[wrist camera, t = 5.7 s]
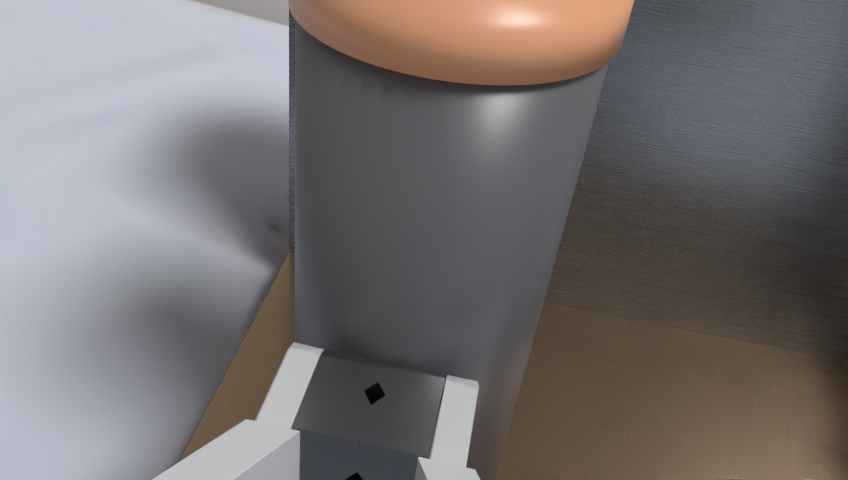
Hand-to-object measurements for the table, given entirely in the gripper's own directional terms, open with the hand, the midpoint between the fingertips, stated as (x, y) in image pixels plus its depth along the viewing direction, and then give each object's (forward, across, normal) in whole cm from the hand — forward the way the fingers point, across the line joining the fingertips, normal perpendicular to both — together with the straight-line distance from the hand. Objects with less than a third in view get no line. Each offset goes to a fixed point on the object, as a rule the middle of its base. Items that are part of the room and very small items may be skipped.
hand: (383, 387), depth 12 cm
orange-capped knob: (+6, 0, +5) cm, 8 cm away
